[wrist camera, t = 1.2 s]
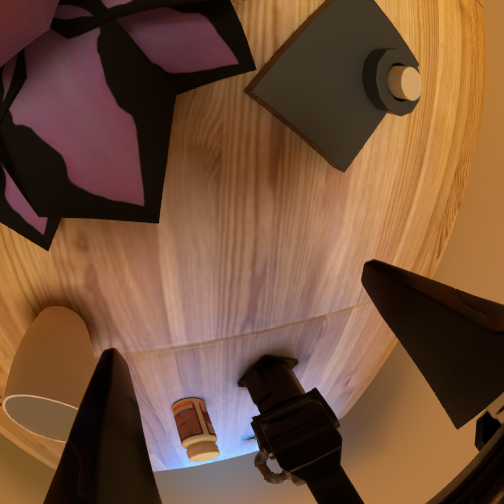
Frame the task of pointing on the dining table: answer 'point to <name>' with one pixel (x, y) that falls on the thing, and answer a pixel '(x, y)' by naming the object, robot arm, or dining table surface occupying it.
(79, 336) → the cup
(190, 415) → the pill bottle
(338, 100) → the dark flat slab piece
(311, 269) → the dining table surface
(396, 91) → the button
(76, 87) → the decorative flower
